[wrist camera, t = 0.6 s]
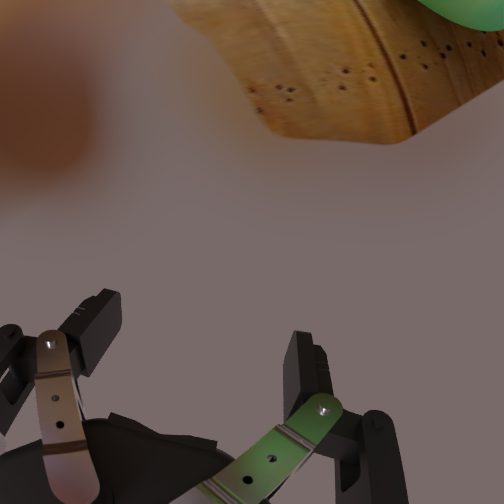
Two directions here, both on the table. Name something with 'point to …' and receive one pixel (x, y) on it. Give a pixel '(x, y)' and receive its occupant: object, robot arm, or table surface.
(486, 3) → the green horned toy
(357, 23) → the table surface
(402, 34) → the table surface
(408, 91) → the table surface
